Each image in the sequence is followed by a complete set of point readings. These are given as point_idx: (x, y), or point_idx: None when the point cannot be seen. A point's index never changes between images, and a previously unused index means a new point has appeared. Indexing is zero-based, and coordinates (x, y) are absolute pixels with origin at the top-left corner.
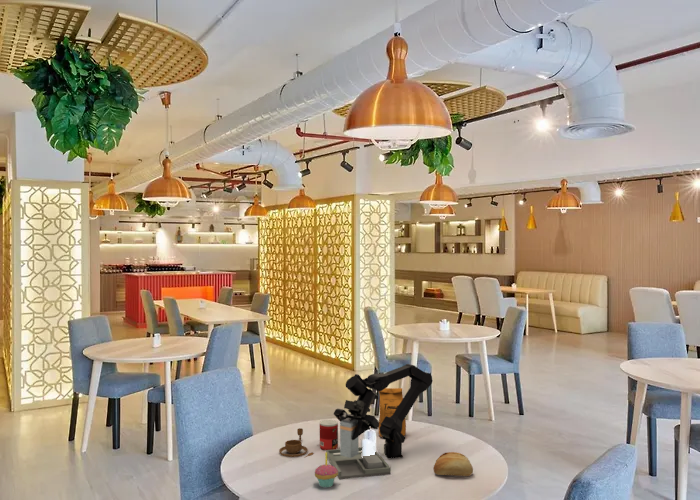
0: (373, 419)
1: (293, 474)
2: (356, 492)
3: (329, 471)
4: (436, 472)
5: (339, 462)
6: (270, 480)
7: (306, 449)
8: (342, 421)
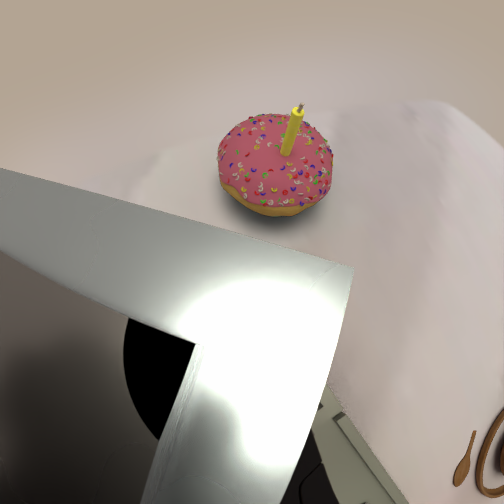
0: None
1: (440, 250)
2: (138, 172)
3: (246, 122)
4: None
5: None
6: (462, 182)
7: (482, 489)
8: (250, 297)
